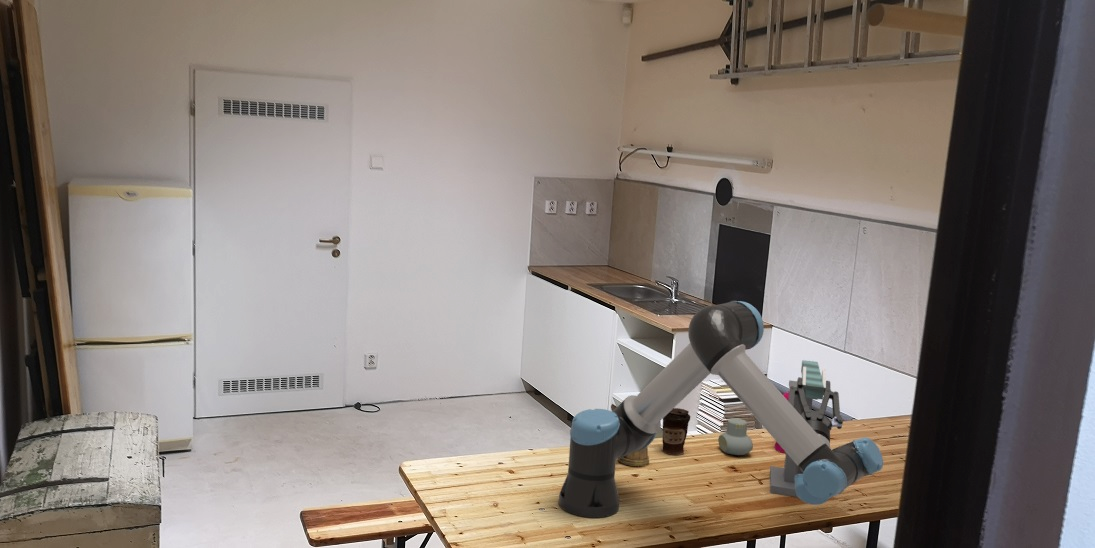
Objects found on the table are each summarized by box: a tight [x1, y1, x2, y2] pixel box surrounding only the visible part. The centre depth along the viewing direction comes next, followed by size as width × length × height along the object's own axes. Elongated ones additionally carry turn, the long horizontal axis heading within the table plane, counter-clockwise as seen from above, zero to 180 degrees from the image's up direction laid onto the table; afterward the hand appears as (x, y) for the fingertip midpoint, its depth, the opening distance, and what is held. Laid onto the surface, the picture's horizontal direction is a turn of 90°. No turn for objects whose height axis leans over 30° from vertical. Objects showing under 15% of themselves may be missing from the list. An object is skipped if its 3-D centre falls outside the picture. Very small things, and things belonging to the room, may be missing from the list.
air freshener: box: [717, 417, 754, 456], centre depth 256 cm, size 11×8×10 cm
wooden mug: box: [610, 403, 650, 468], centre depth 241 cm, size 9×14×18 cm, turn 117°
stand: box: [769, 379, 819, 498], centre depth 230 cm, size 16×12×28 cm
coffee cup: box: [662, 407, 691, 456], centre depth 252 cm, size 9×8×13 cm
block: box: [800, 359, 824, 401], centre depth 214 cm, size 26×4×3 cm, turn 166°
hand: (813, 371), depth 211 cm, fingers closed on block, 4 cm apart
